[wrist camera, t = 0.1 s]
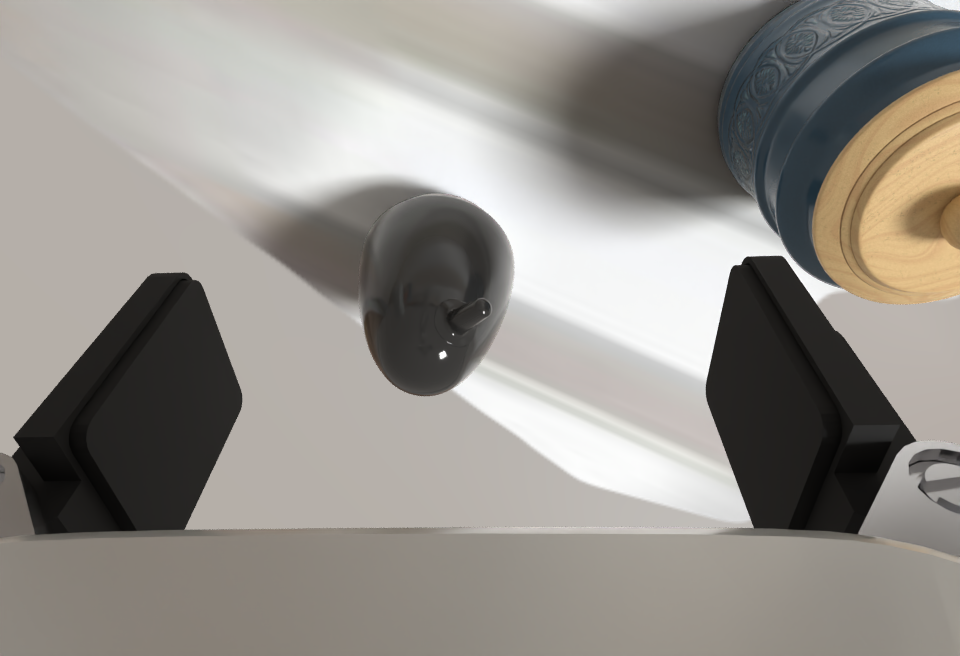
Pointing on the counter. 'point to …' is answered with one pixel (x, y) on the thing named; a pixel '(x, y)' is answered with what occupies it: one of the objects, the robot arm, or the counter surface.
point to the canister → (854, 142)
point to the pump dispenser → (433, 291)
